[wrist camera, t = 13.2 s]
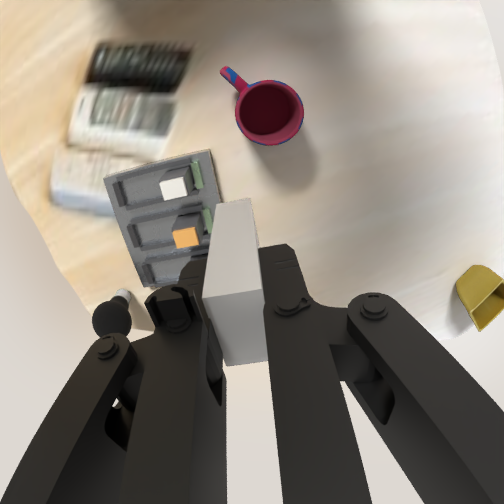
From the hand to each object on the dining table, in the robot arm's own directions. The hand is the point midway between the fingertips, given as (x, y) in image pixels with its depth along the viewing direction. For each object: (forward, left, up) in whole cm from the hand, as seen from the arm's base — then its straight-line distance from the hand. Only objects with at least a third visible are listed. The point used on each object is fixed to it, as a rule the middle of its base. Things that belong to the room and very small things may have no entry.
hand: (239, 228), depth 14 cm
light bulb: (+18, -22, -25) cm, 38 cm away
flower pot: (+30, +39, -25) cm, 55 cm away
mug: (-5, +3, -25) cm, 25 cm away
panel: (+9, -11, -24) cm, 28 cm away
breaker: (+2, -7, -23) cm, 24 cm away
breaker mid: (+9, -8, -23) cm, 25 cm away
